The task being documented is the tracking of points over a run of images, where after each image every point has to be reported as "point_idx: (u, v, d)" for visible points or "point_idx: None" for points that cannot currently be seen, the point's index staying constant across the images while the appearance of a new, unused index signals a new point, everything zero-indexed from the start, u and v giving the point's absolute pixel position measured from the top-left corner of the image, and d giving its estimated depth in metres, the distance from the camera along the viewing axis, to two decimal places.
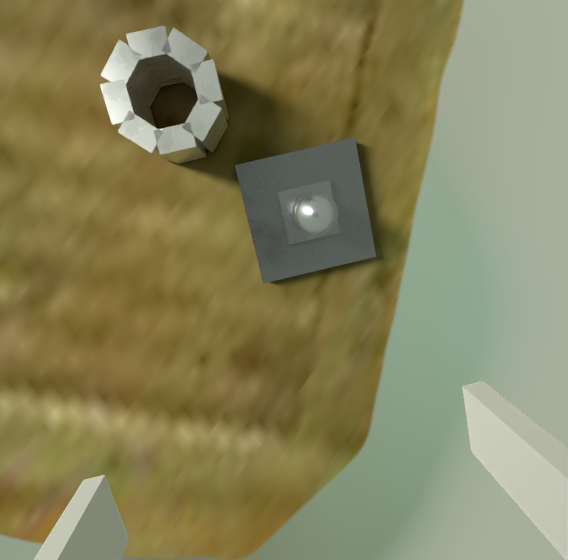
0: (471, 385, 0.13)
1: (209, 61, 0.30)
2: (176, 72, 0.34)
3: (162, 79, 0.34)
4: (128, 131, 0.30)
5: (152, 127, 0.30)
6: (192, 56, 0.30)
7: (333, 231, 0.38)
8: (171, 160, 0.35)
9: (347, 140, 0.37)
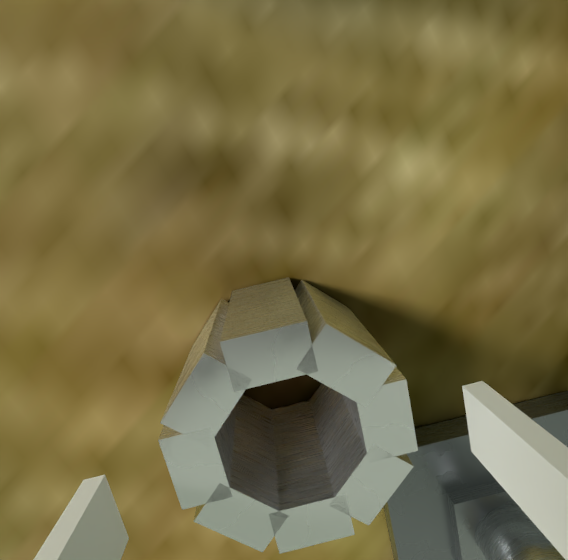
0: (471, 385, 0.13)
1: (398, 383, 0.14)
2: None
3: None
4: (216, 519, 0.14)
5: (267, 509, 0.14)
6: (362, 377, 0.13)
7: None
8: None
9: None
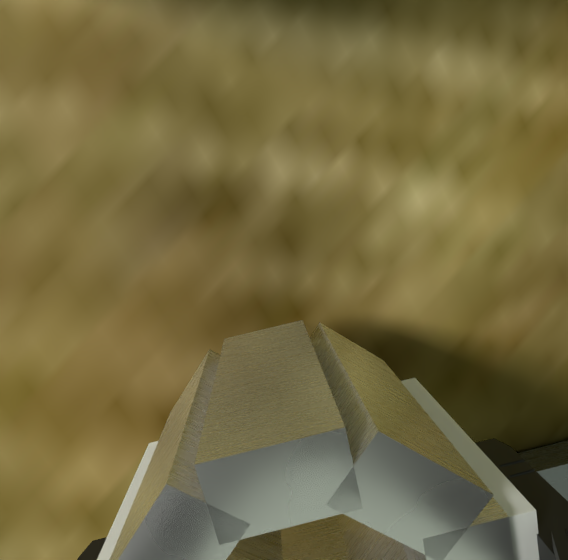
0: (404, 381, 0.15)
1: (495, 524, 0.08)
2: None
3: None
4: None
5: None
6: (436, 515, 0.08)
7: None
8: None
9: None
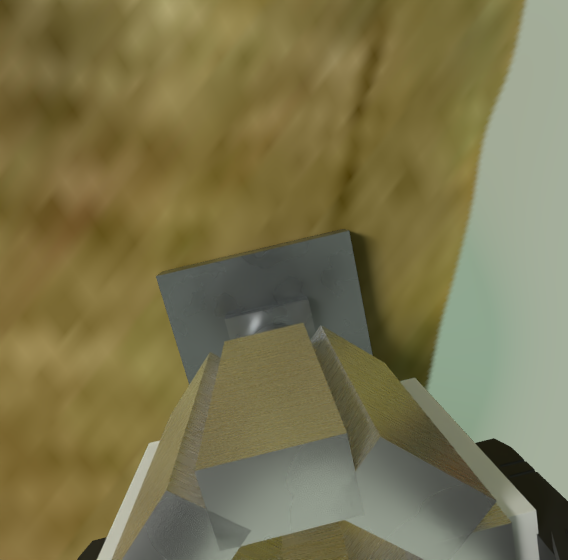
0: (404, 381, 0.15)
1: (497, 530, 0.08)
2: None
3: None
4: None
5: None
6: (439, 521, 0.08)
7: None
8: None
9: (337, 235, 0.23)
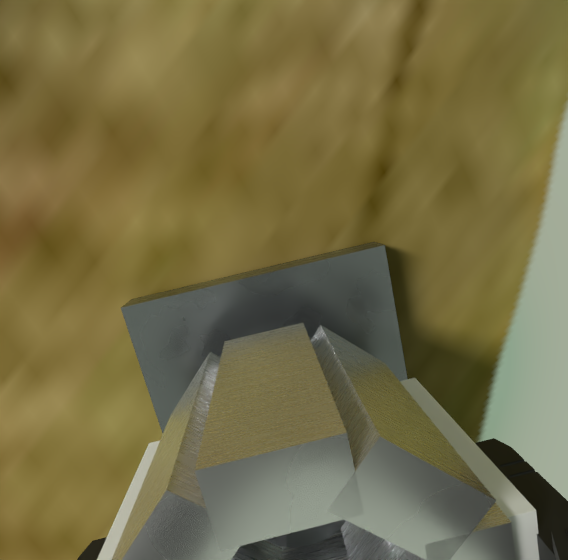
0: (404, 381, 0.15)
1: (497, 529, 0.08)
2: None
3: None
4: None
5: None
6: (438, 521, 0.08)
7: None
8: None
9: (368, 251, 0.17)
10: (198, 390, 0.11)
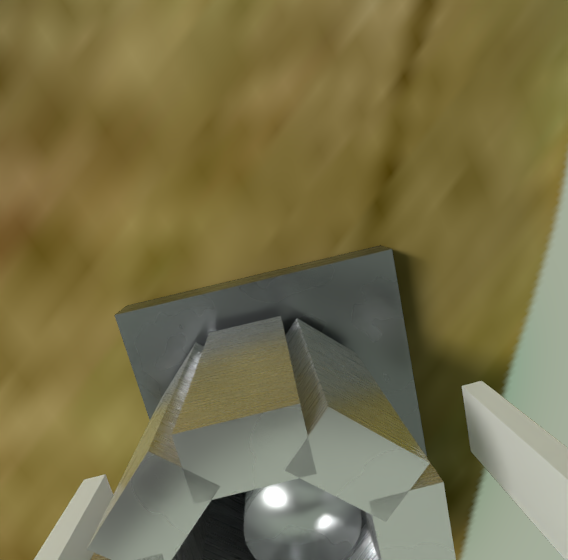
0: (471, 385, 0.13)
1: (431, 488, 0.09)
2: None
3: None
4: None
5: None
6: (380, 480, 0.09)
7: None
8: None
9: (374, 256, 0.16)
10: (182, 374, 0.13)
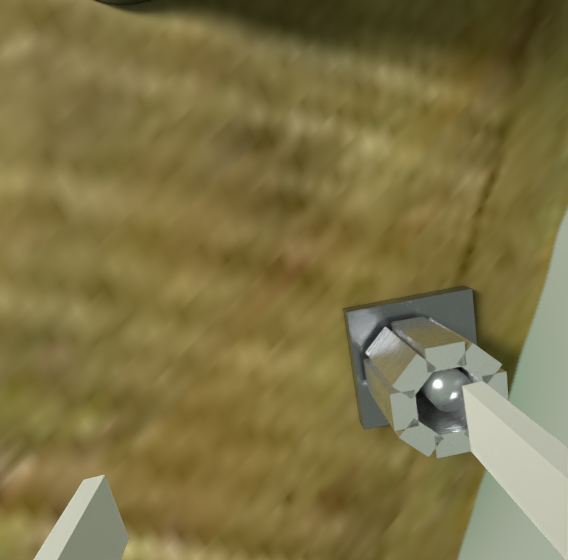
0: (471, 385, 0.13)
1: (502, 373, 0.28)
2: None
3: None
4: (409, 437, 0.29)
5: (434, 433, 0.29)
6: (486, 369, 0.28)
7: None
8: None
9: (464, 291, 0.35)
10: (397, 336, 0.32)
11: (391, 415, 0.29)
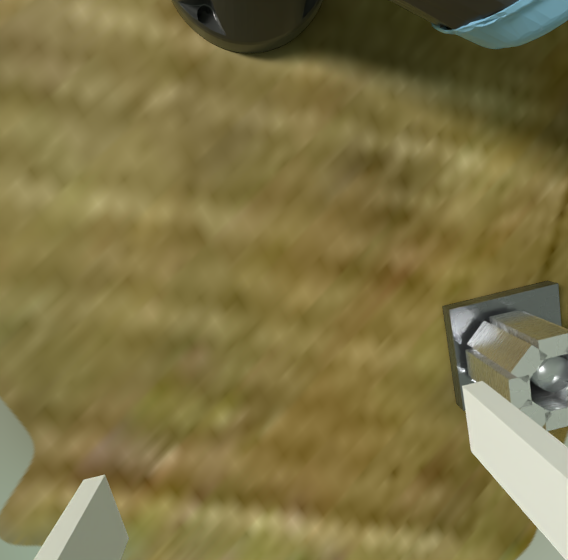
0: (471, 385, 0.13)
1: None
2: None
3: None
4: None
5: (544, 410, 0.34)
6: None
7: None
8: None
9: (551, 286, 0.40)
10: (502, 329, 0.37)
11: (508, 397, 0.34)
